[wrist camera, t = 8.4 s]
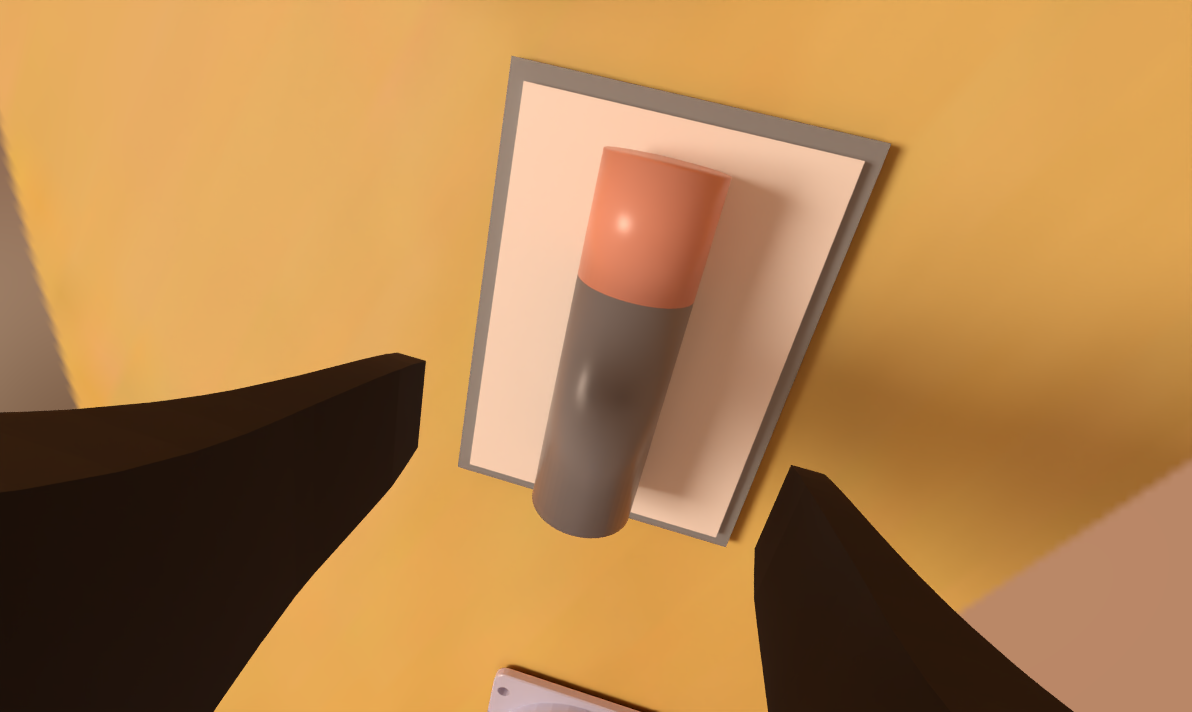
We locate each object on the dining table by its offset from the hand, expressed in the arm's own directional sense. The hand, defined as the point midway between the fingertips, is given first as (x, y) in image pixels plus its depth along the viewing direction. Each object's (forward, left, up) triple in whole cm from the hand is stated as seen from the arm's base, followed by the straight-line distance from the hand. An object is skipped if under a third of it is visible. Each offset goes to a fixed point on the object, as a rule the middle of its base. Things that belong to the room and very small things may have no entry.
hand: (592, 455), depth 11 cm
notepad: (0, 0, -7) cm, 7 cm away
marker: (0, 0, -6) cm, 6 cm away
